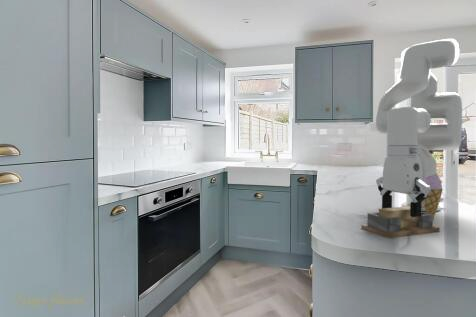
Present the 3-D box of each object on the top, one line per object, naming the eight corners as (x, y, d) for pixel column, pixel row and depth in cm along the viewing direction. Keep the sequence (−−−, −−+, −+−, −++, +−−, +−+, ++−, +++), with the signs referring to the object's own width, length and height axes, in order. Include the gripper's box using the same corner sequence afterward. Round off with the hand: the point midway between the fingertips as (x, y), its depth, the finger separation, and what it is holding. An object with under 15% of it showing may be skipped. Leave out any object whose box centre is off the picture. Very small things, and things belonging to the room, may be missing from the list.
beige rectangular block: (410, 222, 90) (410, 205, 90) (421, 225, 87) (421, 208, 87) (378, 226, 86) (378, 208, 86) (388, 229, 83) (388, 211, 83)
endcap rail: (408, 222, 94) (408, 208, 94) (439, 231, 85) (440, 215, 85) (361, 228, 88) (361, 212, 88) (389, 237, 79) (389, 220, 79)
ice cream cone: (433, 222, 94) (434, 174, 94) (413, 218, 100) (414, 172, 99) (445, 220, 97) (447, 173, 97) (426, 216, 103) (427, 171, 102)
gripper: (440, 152, 79) (439, 218, 80) (387, 150, 95) (386, 205, 96) (419, 153, 76) (417, 221, 78) (368, 151, 93) (367, 207, 94)
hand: (400, 212), depth 87 cm, fingers open, 9 cm apart
